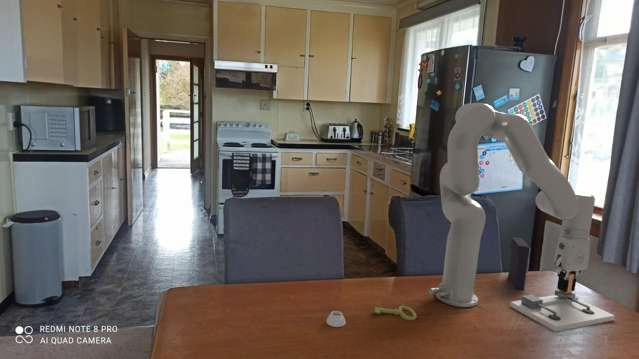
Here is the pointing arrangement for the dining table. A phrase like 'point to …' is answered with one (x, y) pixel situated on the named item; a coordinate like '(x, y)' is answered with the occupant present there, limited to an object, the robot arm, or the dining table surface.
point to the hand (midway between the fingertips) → (565, 289)
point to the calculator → (519, 263)
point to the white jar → (336, 319)
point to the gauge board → (560, 312)
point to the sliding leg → (569, 292)
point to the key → (397, 312)
